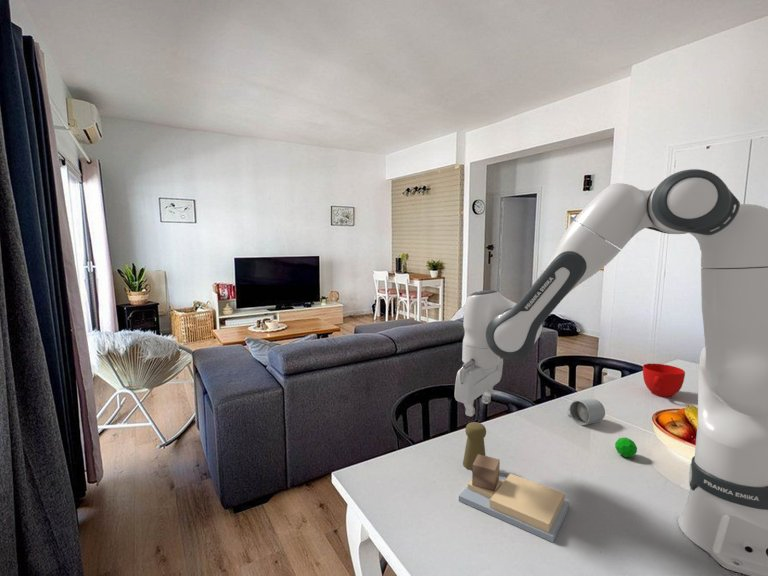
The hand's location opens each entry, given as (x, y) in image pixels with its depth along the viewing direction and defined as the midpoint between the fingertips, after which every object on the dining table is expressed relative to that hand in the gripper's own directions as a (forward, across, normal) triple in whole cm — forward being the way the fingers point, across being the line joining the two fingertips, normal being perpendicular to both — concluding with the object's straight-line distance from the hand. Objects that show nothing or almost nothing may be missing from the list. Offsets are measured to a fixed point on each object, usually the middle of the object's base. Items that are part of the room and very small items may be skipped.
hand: (478, 408), depth 98 cm
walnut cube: (+13, -8, -6) cm, 17 cm away
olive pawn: (+16, +1, +1) cm, 16 cm away
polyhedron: (+16, +30, -30) cm, 45 cm away
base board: (+16, -8, -12) cm, 22 cm away
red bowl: (+15, +87, -34) cm, 95 cm away
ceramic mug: (+16, +46, -16) cm, 51 cm away
